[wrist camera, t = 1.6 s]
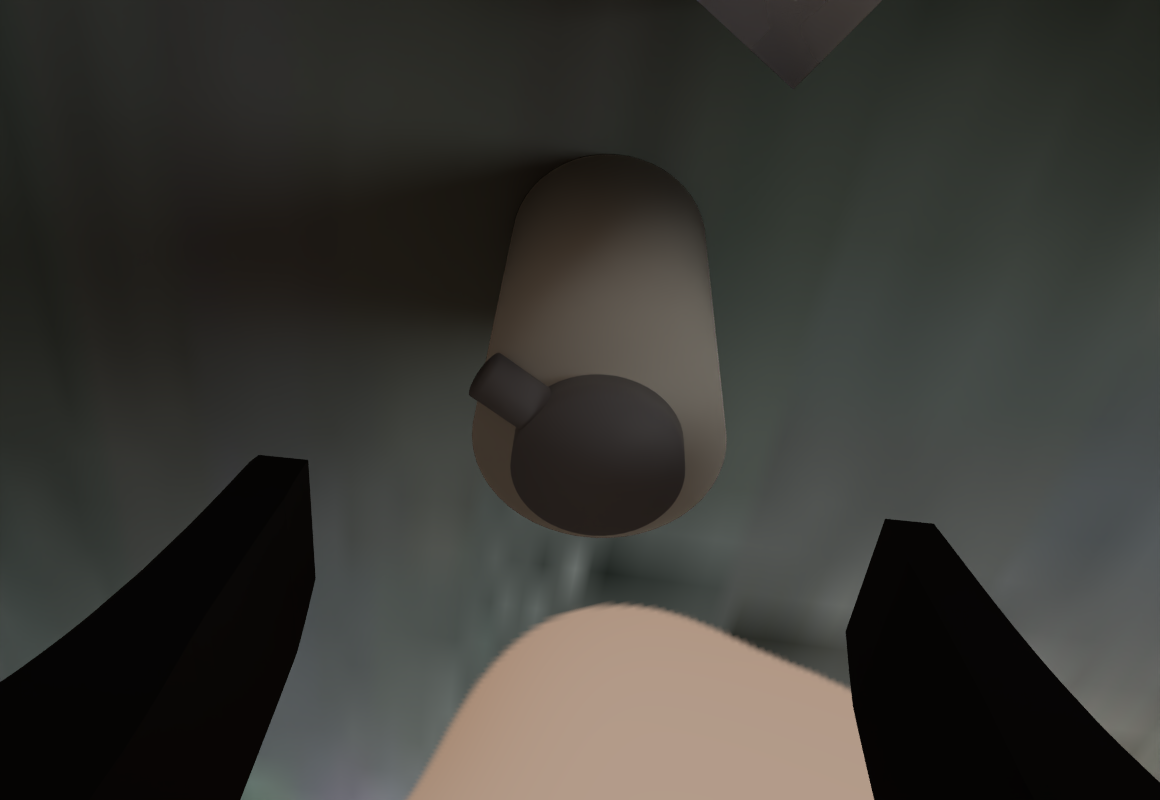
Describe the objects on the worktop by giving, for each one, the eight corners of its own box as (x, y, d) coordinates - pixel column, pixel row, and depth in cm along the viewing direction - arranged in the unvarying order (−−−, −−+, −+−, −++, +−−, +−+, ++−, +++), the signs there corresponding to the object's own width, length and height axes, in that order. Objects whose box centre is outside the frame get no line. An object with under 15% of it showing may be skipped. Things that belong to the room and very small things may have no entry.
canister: (746, 237, 20) (785, 464, 15) (617, 359, 22) (610, 601, 16) (589, 106, 19) (568, 302, 13) (465, 246, 20) (403, 470, 15)
